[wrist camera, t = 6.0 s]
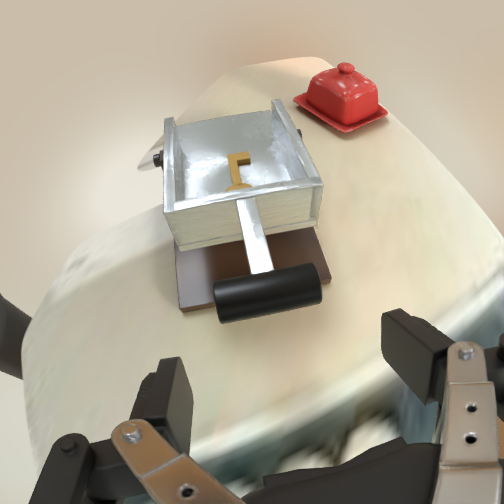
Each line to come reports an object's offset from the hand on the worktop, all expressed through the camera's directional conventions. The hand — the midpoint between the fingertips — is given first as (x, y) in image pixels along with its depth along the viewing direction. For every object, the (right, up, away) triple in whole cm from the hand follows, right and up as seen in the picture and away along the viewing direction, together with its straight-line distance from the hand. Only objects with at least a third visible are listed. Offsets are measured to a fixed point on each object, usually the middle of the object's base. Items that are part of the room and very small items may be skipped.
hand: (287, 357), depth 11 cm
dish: (-2, +8, +13) cm, 15 cm away
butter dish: (+12, +26, +33) cm, 44 cm away
